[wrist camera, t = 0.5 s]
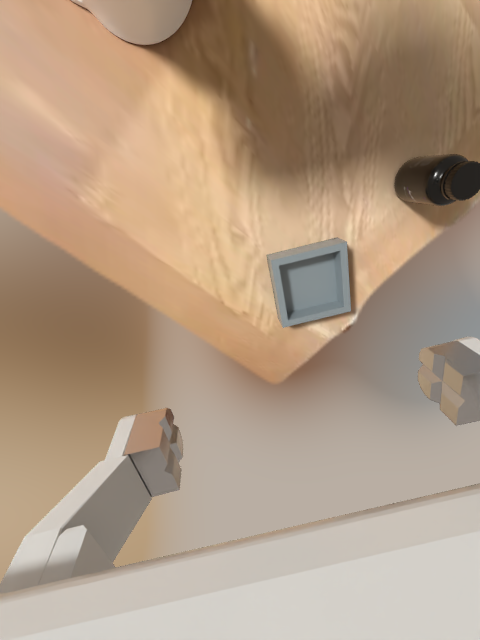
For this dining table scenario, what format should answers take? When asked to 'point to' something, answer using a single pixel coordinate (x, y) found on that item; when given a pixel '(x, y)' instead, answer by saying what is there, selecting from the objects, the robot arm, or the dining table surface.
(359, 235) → the dining table surface
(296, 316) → the tray
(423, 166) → the supplement bottle
